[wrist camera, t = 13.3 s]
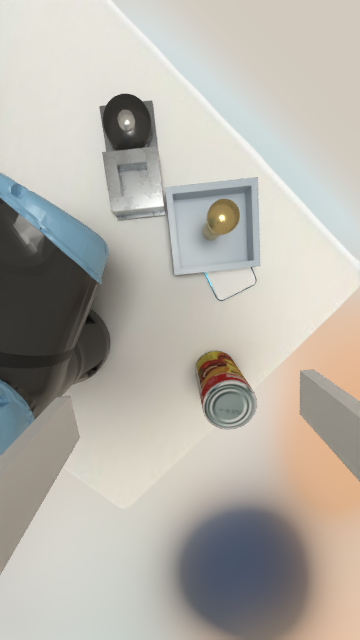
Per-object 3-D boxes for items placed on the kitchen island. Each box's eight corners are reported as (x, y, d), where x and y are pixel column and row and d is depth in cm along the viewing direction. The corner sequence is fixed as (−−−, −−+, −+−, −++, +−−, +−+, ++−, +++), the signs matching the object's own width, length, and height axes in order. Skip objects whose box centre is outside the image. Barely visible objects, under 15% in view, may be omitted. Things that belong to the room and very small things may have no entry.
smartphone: (256, 282, 40) (220, 197, 37) (258, 282, 39) (221, 195, 36) (217, 302, 41) (178, 219, 37) (218, 303, 40) (178, 218, 37)
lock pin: (200, 245, 37) (208, 235, 27) (198, 220, 37) (206, 200, 27) (223, 242, 37) (240, 231, 27) (221, 217, 37) (238, 196, 27)
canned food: (241, 375, 43) (266, 413, 32) (207, 394, 44) (219, 438, 32) (222, 343, 42) (241, 370, 30) (187, 363, 43) (192, 398, 31)
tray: (174, 275, 39) (174, 275, 35) (165, 195, 36) (165, 187, 33) (252, 266, 39) (260, 265, 35) (249, 186, 36) (257, 177, 33)
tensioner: (165, 215, 37) (164, 209, 33) (118, 220, 37) (112, 215, 33) (152, 103, 34) (150, 84, 30) (100, 109, 34) (92, 90, 30)
